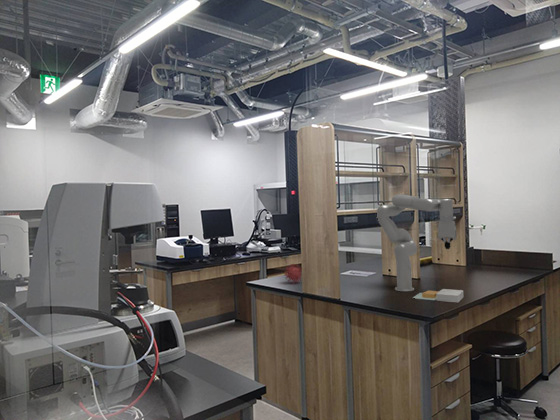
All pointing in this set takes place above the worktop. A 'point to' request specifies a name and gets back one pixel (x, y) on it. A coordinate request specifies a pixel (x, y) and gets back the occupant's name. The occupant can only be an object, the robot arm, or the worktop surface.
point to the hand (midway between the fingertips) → (447, 248)
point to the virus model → (293, 273)
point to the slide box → (430, 294)
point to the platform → (449, 295)
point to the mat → (419, 296)
